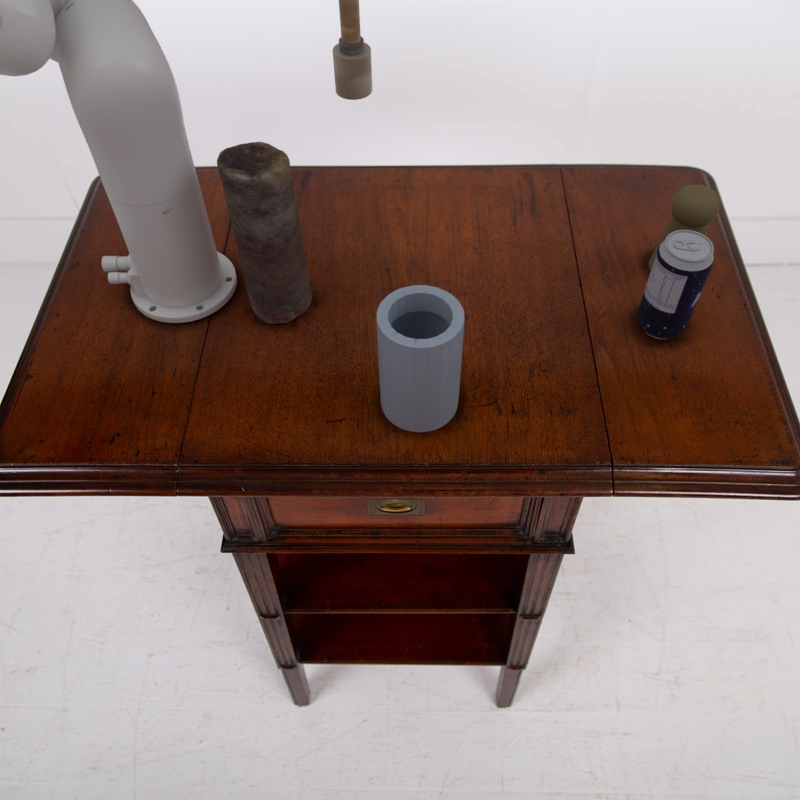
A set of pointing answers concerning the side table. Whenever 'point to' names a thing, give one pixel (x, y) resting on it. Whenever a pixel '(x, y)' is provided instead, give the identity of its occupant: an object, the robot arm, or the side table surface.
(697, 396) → the side table surface
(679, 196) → the olive pawn
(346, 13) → the brush
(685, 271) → the beverage can
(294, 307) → the brown rough cylinder
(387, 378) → the grey hollow tube
